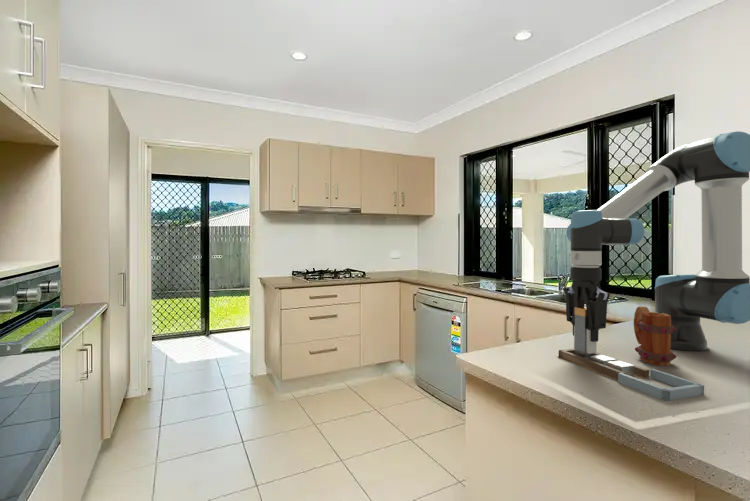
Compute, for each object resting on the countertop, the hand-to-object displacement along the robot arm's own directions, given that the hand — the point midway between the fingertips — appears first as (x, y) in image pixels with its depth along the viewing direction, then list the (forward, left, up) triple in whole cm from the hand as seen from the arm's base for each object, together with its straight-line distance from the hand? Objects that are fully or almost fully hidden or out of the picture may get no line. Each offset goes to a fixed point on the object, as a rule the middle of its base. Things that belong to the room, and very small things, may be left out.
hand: (585, 350), depth 103 cm
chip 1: (0, +6, -3) cm, 7 cm away
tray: (0, +20, -4) cm, 21 cm away
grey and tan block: (0, 0, -2) cm, 2 cm away
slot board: (0, +5, -4) cm, 6 cm away
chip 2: (0, +11, -3) cm, 11 cm away
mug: (-19, +4, -4) cm, 20 cm away
